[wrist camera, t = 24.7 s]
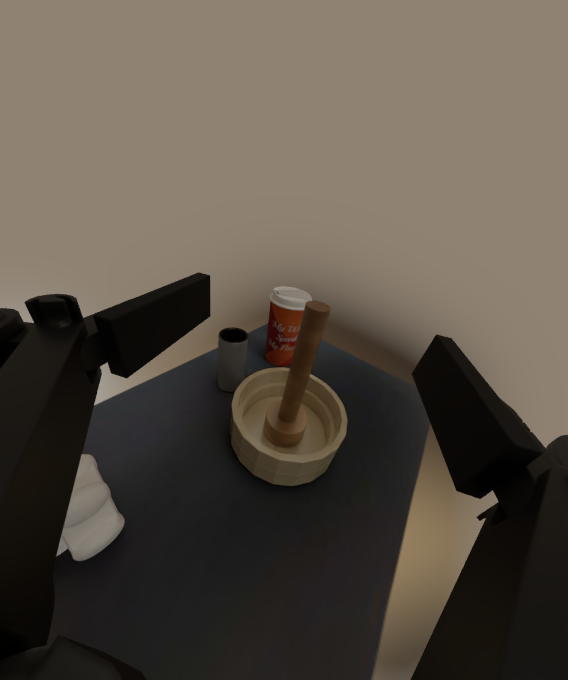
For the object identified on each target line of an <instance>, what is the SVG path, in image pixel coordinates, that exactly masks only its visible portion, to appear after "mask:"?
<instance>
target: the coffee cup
mask: <svg viewBox="0 0 568 680" xmlns="http://www.w3.org/2000/svg"><path fill="white" fill-rule="evenodd" d="M269 298H270V300H271V303H270V313H269V322H268V333H267V345H266V359H267V360H268V362H270V363H271V364H273V365H276V366H287V365H289V364H291V361H292V357H293V353H294V349H295V345H296V341H297V336H298V332H299V328H300V324H301V320H302V316H303V312H304V308H305V304H306V302H307V301H312V298H311V296H310V295H309V294H308V293H307V292H305V291H303V290H301V289H298V288H294V287H287V286H281V287H276V288H274V290H273V292H272V294H271V295H270V296H269Z"/></svg>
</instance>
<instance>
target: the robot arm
mask: <svg viewBox="0 0 568 680" xmlns="http://www.w3.org/2000/svg"><path fill="white" fill-rule="evenodd" d="M25 304H26V307H27V309H28V311H29V313H30V315H31V317H32V319H33V321H34V323H28V322H23V320H22V318H21V316H20V314H19V312H18V311H16V310H14V309H7V308H0V680H147V679H146V678H145V677H144V675H143V674H142V672H141V671H139V670H137V669H135V668H133V667H131V666H129V665H127V664H125V663H123V662H122V661H120V660H118V659H116V658H114V657H112V656H110V655H108V654H106V653H104V652H103V651H100V650H98V649H95V648H92V647H89V646H87V645H84V644H81V643H79V642H76V641H73V640H71V639H68V638H65V637H62V636H60V635H58V637H57V638H56V640H55V641H54V643H53V644H52V645H47V646H46V644H47V640H48V635H49V631H50V626H51V622H52V616H53V610H54V597H55V593H54V586H53V568H54V563H55V559H56V555H57V551H58V547H59V543H60V539H61V535H62V531H63V527H64V523H65V519H66V515H67V511H68V507H69V503H70V499H71V495H72V491H73V487H74V483H75V479H76V475H77V471H78V467H79V463H80V459H81V455H82V451H83V447H84V443H85V439H86V435H87V431H88V427H89V423H90V419H91V415H92V411H93V407H94V403H95V399H96V395H97V390H98V386H99V383H100V378H101V374H102V373H101V369H100V366H102V365H103V364H105V363H107V362H108V365H109V368H110V371H111V373H112V374H115V375H118V376H121V377H124V378H128V377H129V376H131V375H132V374H133V373H135V372H136V371H137V370H139V369H140V368H141V367H143V366H144V365H145V364H147V363H148V362H150V361H151V360H152V359H153V358H155V357H156V356H157V355H159V354H160V353H161V352H163V351H164V350H166V349H167V348H168V347H170V346H171V345H172V344H174V343H175V342H176V341H178V340H179V339H180V338H182V337H183V336H184V335H186V334H187V333H188V332H190V331H191V330H192V329H194V328H195V327H196V326H198V325H199V324H200V323H202V322H203V321H204V320H206V319H207V318H208V317H210V275H206V274H202V273H196V274H194V275H191V276H189V277H187V278H184V279H181V280H179V281H176V282H174V283H171V284H169V285H166V286H164V287H161V288H159V289H156V290H154V291H151V292H149V293H146V294H144V295H141V296H139V297H136V298H134V299H130V300H128V301H125V302H123V303H120V304H118V305H115V306H113V307H111V308H108V309H105V310H103V311H100V312H97V313H95V314H93V315H90V316H87V317H85V318H83V316H82V314H81V311H80V308H79V305H78V302H77V299H76V298H75V297H73V296H70V295H65V294H50V295H43V296H37V297H34V298H31V299H29V300H27V301H26V302H25ZM412 375H413V378H414V381H415V383H416V386H417V389H418V391H419V394H420V397H421V399H422V402H423V404H424V407H425V410H426V412H427V415H428V417H429V420H430V423H431V425H432V428H433V431H434V433H435V436H436V438H437V441H438V443H439V446H440V449H441V451H442V454H443V457H444V459H445V462H446V464H447V467H448V470H449V472H450V475H451V478H452V480H453V483H454V485H455V488H456V490H457V491H458V492H461V493H464V494H467V495H470V496H473V497H476V498H479V499H481V498H482V497H484V496H485V495H487V494H488V493H489V492H491V491H492V490H493V491H494V493H495V495H496V497H497V499H498V501H499V502H498V503H497V504H495V505H494V506H492V507H491V508H489V509H488V510H486V511H485V512H483V513H481V514H480V515H479V516H478V517H477V518H478V519H479V520H482V519H484V518H486V520H485V522H484V524H483V526H482V528H481V530H480V532H479V535H478V537H477V539H476V541H475V543H474V545H473V547H472V550H471V552H470V554H469V556H468V558H467V560H466V562H465V565H464V567H463V569H462V571H461V573H460V575H459V578H458V580H457V582H456V584H455V586H454V588H453V590H452V592H451V595H450V597H449V599H448V601H447V603H446V605H445V607H444V610H443V612H442V614H441V616H440V618H439V620H438V622H437V624H436V627H435V629H434V631H433V633H432V635H431V637H430V639H429V642H428V644H427V646H426V648H425V650H424V652H423V655H422V657H421V659H420V661H419V663H418V665H417V667H416V670H415V672H414V674H413V676H412V678H411V680H568V467H566V466H563V465H559V464H558V463H557V462H556V460H555V459H554V458H553V457H552V456H551V454H550V453H549V452H548V451H547V450H546V448H545V447H544V446H543V445H542V443H541V442H540V441H539V440H538V439H537V437H536V436H535V435H534V434H533V433H532V432H530V429H529V428H528V427H527V425H526V424H525V423H523V422H522V419H521V418H520V417H519V416H518V415H517V413H516V412H515V411H514V410H513V409H512V408H511V407H510V406H508V405H507V404H506V403H505V402H503V401H502V400H501V399H500V398H499V397H498V396H497V394H496V393H495V392H494V391H493V389H492V388H491V387H490V386H489V384H488V383H487V382H486V381H485V379H484V378H483V377H482V376H481V374H480V373H479V372H478V371H477V370H476V368H475V367H474V366H473V365H472V363H471V362H470V361H469V360H468V358H467V357H466V356H465V355H464V353H463V352H462V351H461V350H460V348H459V347H458V346H457V345H456V343H455V342H454V341H453V340H452V338H448V337H444V336H440V335H436V336H435V337H434V339H433V341H432V342H431V344H430V345H429V347H428V349H427V350H426V352H425V354H424V355H423V357H422V358H421V360H420V361H419V363H418V365H417V366H416V368H415V369H414V371H413V373H412Z"/></svg>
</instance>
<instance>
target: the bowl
mask: <svg viewBox="0 0 568 680" xmlns="http://www.w3.org/2000/svg"><path fill="white" fill-rule="evenodd" d="M289 369H290V368H283V367H281V368H268V369H265V370H261V371H258V372H255V373H254V374H252V375H250V376H249V377H247V378H246V379H244V380H243V382H242V383H241V384H240V385H239V387H238V388H237V389H236V391H235V394H234V397H233V401H232V405H231V418H230V437H231V445H232V447H233V449H234V451H235V453H236V455H237V457H238V459H239V461H240V462H241V463H242V464H243V465H244V466H245V467H246V468H247V469H248V470H249V471H250V472H251V473H252V474H253V475H255V476H257V477H259V478H261V479H263V480H265V481H267V482H269V483H271V484H277V485H286V486H296V485H300V484H304V483H308V482H311V481H313V480H314V479H316V478H317V477H319V476H320V475H321V474H323V473H324V472H325V471H326V470H327V468H328V467H329V465H330V464H331V462H332V460H333V459H334V457H335V455H336V453H337V451H338V449H339V447H340V445H341V444H342V442H343V440H344V438H345V436H346V430H347V422H348V421H347V416H346V412H345V408H344V405H343V404H342V402H341V401H340V399H339V397H338V396H337V394H336V393H335V392H334V391H333V390H332V389H331V388H330V387H329V386H328V385H327V384H326V383H325V382H323V381H321V380H320V379H318V378H316V377H315V376H313V375H311V374H310V377H309V380H308V383H307V386H306V389H305V392H304V396H303V399H302V402H301V406H302V407H303V408H304V409H305V411H306V413H307V416H308V424H307V427H306V429H305V432H304V435H303V438H302V439H301V441H300V442H299V443H298V444H296V445H295V446H292V447H280V446H277V445H275V444H273V443H272V442H271V441H270V440H269V439H268V438H267V437H266V435H265V432H264V422H265V417H266V412H267V409H268V407H269V406H270V405H271V404H272V403H273V402H275V401H277V400H281V399H282V397H283V393H284V389H285V385H286V381H287V377H288V373H289Z"/></svg>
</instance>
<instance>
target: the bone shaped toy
mask: <svg viewBox="0 0 568 680" xmlns="http://www.w3.org/2000/svg"><path fill="white" fill-rule="evenodd" d="M97 467H98V465H97V463H96V461H95V458H94V457H93V456H91V455H89V454H82V455H81V459H80V463H79V467H78V471H77V475H76V479H75V483H74V487H73V491H72V495H71V499H70V503H69V507H68V511H67V515H66V519H65V523H64V527H63V531H62V535H61V539H60V543H59V547H58V551H57V555H56V557H57V556H58V555H60V554H61V553H62V552H64V551H65V550H66V549H69V550H70V552H71V554H72V557H73V559H74V560H76V561H83V560H86V559H89V558H91V557H92V556H94V555H96V554H97V553H99V552H100V551H102V550H103V549H104V548H105V547H107V546H108V545H109V544H110V543H111V542H112V541H113V540H114V539H115V538H116V537H117V536H118V535H119V533H120V532H121V530H122V528H123V526H124V518H123V516H122V514H120V513H119V512H118V510H117V508H116V506H115V504H114V502H113V500H112V498H111V491H110V489H109V487H108V485H107V484H105V483H104V481H103V479H102V477H101V475H100V473H99V471H98V469H97Z"/></svg>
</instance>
